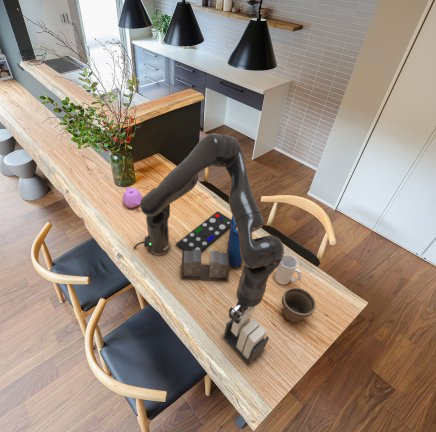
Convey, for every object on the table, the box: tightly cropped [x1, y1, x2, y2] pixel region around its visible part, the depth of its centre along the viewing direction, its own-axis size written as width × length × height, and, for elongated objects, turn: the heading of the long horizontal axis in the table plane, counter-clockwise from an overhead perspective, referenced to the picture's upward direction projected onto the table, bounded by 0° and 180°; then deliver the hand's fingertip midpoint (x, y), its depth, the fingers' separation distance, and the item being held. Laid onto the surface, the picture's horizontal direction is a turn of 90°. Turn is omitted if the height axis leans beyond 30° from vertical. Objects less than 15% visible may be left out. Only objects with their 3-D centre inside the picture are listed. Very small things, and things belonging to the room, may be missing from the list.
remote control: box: [175, 211, 232, 253], centre depth 147 cm, size 11×30×2 cm, turn 135°
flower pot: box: [281, 287, 317, 322], centre depth 114 cm, size 12×11×10 cm
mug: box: [274, 254, 302, 285], centre depth 124 cm, size 10×7×12 cm, turn 42°
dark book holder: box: [223, 318, 270, 366], centre depth 104 cm, size 12×8×15 cm, turn 38°
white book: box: [231, 306, 256, 336], centre depth 101 cm, size 3×6×14 cm, turn 128°
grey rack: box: [180, 250, 231, 282], centre depth 128 cm, size 19×8×12 cm, turn 86°
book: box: [226, 214, 243, 268], centre depth 131 cm, size 22×7×25 cm, turn 168°
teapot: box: [122, 186, 143, 209], centre depth 160 cm, size 10×15×9 cm
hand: (243, 315), depth 99 cm, fingers closed on white book, 6 cm apart
